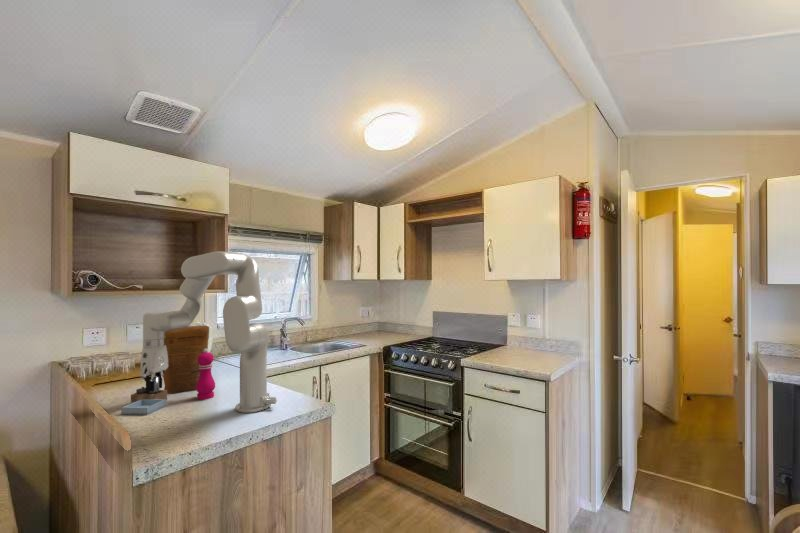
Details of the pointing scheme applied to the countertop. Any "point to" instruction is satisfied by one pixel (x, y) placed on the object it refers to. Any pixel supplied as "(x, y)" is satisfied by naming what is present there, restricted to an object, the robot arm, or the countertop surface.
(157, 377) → the lock pin
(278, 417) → the countertop surface
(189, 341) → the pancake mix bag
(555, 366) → the countertop surface
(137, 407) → the tray
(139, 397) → the tensioner block
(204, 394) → the pepper mill
